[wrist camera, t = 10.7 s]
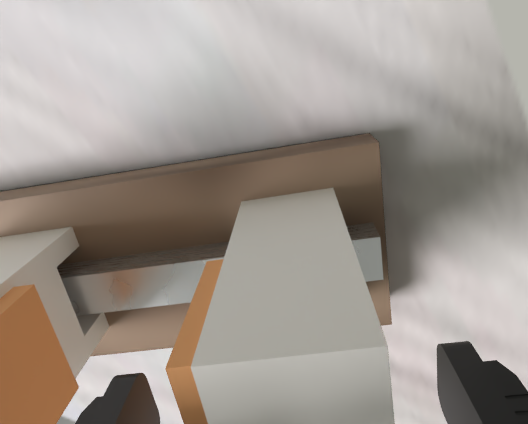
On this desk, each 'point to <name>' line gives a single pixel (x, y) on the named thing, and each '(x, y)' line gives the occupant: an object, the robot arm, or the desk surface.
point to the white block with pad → (283, 324)
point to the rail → (197, 214)
